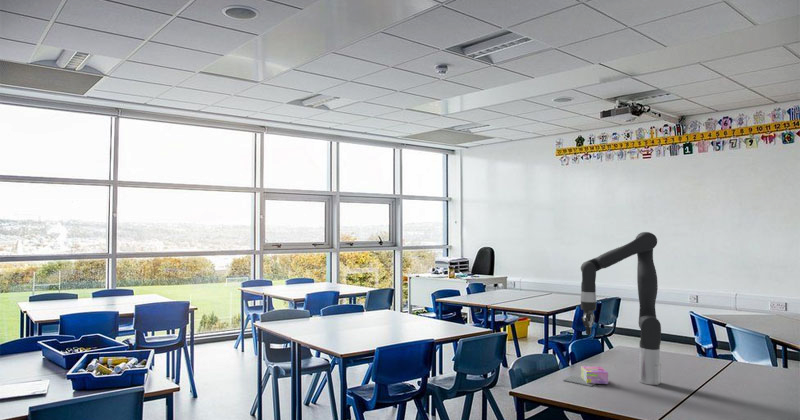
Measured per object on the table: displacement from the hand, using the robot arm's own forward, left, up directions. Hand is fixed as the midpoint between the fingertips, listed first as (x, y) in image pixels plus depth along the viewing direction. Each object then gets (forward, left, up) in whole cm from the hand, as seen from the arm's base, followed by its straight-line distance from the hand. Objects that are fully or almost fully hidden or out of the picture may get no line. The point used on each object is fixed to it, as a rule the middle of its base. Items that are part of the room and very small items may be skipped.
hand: (588, 334), depth 275 cm
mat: (0, +10, -22) cm, 24 cm away
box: (-1, 0, -19) cm, 19 cm away
